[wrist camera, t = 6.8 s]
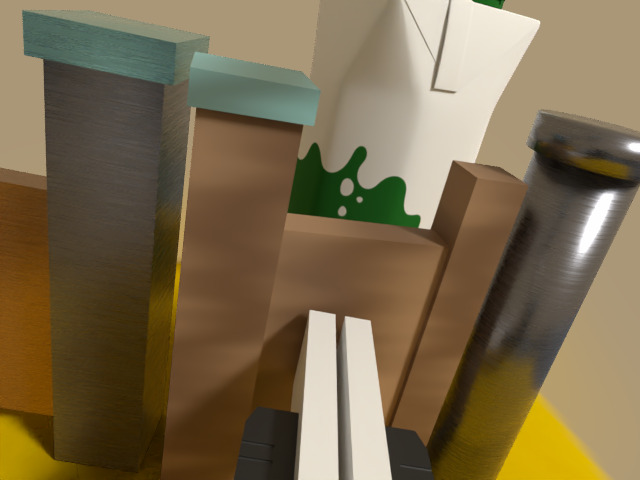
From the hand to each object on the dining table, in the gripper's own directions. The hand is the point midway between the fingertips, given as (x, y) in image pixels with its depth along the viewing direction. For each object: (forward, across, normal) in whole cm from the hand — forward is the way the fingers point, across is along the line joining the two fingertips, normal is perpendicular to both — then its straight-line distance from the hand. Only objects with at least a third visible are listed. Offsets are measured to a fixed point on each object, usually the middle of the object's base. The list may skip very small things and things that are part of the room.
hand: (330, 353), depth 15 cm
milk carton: (+14, +2, -8) cm, 16 cm away
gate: (+1, 0, -6) cm, 6 cm away
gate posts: (+2, -3, -7) cm, 8 cm away
